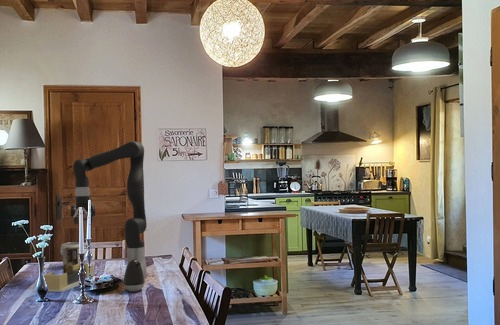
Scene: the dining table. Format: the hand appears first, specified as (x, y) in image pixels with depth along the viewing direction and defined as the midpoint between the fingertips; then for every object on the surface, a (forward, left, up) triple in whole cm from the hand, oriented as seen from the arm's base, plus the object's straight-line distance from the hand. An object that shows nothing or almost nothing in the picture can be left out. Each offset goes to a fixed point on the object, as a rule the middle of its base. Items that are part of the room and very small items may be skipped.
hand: (83, 224), depth 269 cm
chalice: (+26, -26, -30) cm, 48 cm away
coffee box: (+10, -4, -30) cm, 32 cm away
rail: (-1, +14, -29) cm, 32 cm away
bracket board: (-1, +14, -30) cm, 33 cm away
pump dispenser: (-42, +20, -30) cm, 56 cm away
